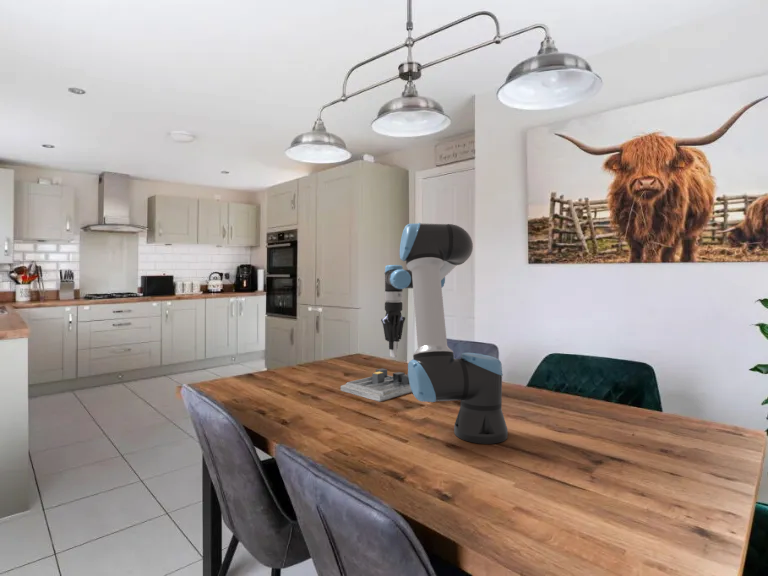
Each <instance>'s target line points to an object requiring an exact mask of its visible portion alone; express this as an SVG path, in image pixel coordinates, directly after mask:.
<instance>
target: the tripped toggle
mask: <svg viewBox="0 0 768 576" xmlns="http://www.w3.org/2000/svg"><path fill="white" fill-rule="evenodd" d="M371 377H372V383H374V384H377V383H381V382H384V373H383V372H376V371H375V372H373V373H372V375H371Z"/></svg>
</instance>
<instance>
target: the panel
mask: <svg viewBox="0 0 768 576" xmlns="http://www.w3.org/2000/svg"><path fill="white" fill-rule="evenodd" d="M375 372H383V373H384V382H381V383H377V384H374V383H372V376H369V377H365V378H360V379H359V378H358V379H355V380H351V381H348V382H346V383H345V384H343V385H340V391H341V392H343V393H344V392H345V393H348V394H351V395H354V396H357V397H362V398H365V399H368V400H369V399H370V400H373V401H376V402H383V401H387V400H390V399H393V398H396V397H400V396H405V395H406V394H410V393H413V392H412V390H411V387H410V383H409V378H408V373H407V374H406V373H405V372H401V371H398V372H393V373H392V375H389V374H388V369H387V368H383V367H382V368H378V369H375Z"/></svg>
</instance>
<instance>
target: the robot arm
mask: <svg viewBox="0 0 768 576" xmlns="http://www.w3.org/2000/svg"><path fill="white" fill-rule="evenodd" d="M473 247H474V244H473V240H472V237H471V235H470V234H469V233H468V231H467V230H465V229H464V228H463V227H461V226H460V225H457V224H453V223H452V224H451V223H445V224H444V223H421V222H418V223H417V222H416V223H408V224H406V225H405V226H404V229H403V230H402V233H401V238H400V245H399V258H400V260H401V261H403V262H405V265H406V269H404V268H403V265H401V264H388V265H385V269H384V311H385V317H384V318H381V320H380V321H381V323H382V327H383V332H384V333H383V334H384V339H385V341H387V342H388V348H389V349H388V350H389V357H390V358H397V357H398V354H397V353H398V351H397V350H398V342H400V341H401V340H402V336H403V329H404V323H405V320H406V317H405V316H402V312H403V302H402V301H403V290H404V289H413V290H412V291H413V304H414V315H415V316H414V317H415V327H416V328H415V329H416V341H417V349H416V351H414V352H413V353H412V357H413V359H411V360H409V362H408V364H407V369H408V370H407V374H408V378H409V383H410V387H411V390H412V392H411V393H412V394H413V397H414V398H415V399H416V400H417V401H419V402H422V403H423V402H426V403H427V402H430V403H435V402H449V401H450V402H451V401H460V407H459V409H458V410H459V411H458V413H457V416H456V418H455V422H454V427H453V428H454V431H453V433H454V435H455V436H456V437H457V438H458V439H460V440H462V441H466V442H470V443H474V444H479V445H480V444H482V445H483V444H484V445H485V444H486V445H487V444H488V445H492V444H499V443H502V442H504V441H506V440H507V439H508V432H509V431H508V426H507V422H506V420H505V417H504V416H505V415H504V413H503V410H502V402H503V401H502V398H503V395H502V394H503V390H502V389H503V375H504V374H503V367H502V362H501V361H500V359H499V358H497V357H494V356H492V355H487V354H482V353H476V352H475V353H474V352H462V353H461V354H460V356H459V357H460V358H455V357H454V355H455V354H454V351H453V349H451V348H450V347H449V346H448V339H447V327H446V318H445V308H444V299H443V297H444V296H443V289H442V288H443V287H444V286H445V284H446V277H447V275H449V274H450V273H451V272H452V271H453V270H454V269H455V268H456V267H457V266H460V265H462V264H464V263H465V262H466V261H468V259H470V257H471V256H472V254H473V250H474V248H473Z"/></svg>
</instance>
